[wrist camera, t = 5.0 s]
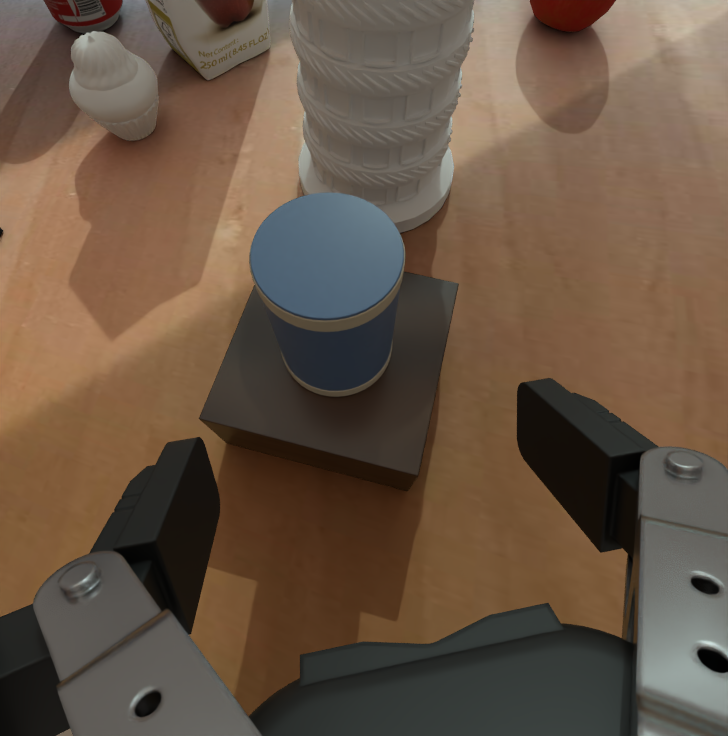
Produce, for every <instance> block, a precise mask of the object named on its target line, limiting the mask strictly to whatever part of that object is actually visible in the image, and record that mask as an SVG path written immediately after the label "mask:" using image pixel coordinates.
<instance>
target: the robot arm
mask: <svg viewBox="0 0 728 736" xmlns="http://www.w3.org/2000/svg"><path fill="white" fill-rule="evenodd" d="M517 442H518V447H519V450H520V453H521V455H522V457H523V459H524V460H525V462H526V463H527V464H528V465H529V466H530V468H531V469H532V470H533V471H534V472H535V474H536V475H537V476H538V477H539V479H540V480H541V481H542V482H543V483H544V485H545V486H546V487H547V488H548V489H549V491H550V492H551V493H552V494H553V496H554V497H555V498H556V499H557V500H558V502H559V503H560V504H561V505H562V506H563V508H564V509H565V510H566V511H567V513H568V514H569V515H570V516H571V517H572V519H573V520H574V521H575V522H576V523H577V525H578V526H579V527H580V528H581V530H582V531H583V532H584V533H585V534H586V536H587V537H588V538H589V539H590V540H591V542H592V543H593V544H594V545H595V547H596V548H597V549H598V550H599V551H600V553H601V552H606V551H611V550H616V549H621V548H623V549H624V550H625V551H626V552H627V553H628V556H627V564H626V577H625V593H624V610H623V626H622V638H620V637H617V636H615V635H612V634H609V633H606V632H603V631H600V630H596V629H593V628H589V627H585V626H578V625H572V624H561V623H560V622H559V620H558V618H557V617H556V615H555V613H554V612H553V610H552V608H551V607H550V605H549V603H545V604H540V605H535V606H531V607H526V608H521V609H516V610H512V611H507V612H502V613H497V614H493V615H489V616H487V617H485V618H483V619H481V620H479V621H477V622H475V623H473V624H471V625H469V626H467V627H465V628H463V629H461V630H459V631H457V632H455V633H453V634H451V635H449V636H447V637H445V638H443V639H441V640H439V641H437V642H434V643H430V644H410V643H384V642H359V643H354V644H350V645H345V646H340V647H335V648H331V649H326V650H321V651H316V652H312V653H307V654H302V655H300V679H298V680H296V681H294V682H292V683H290V684H288V685H287V686H285V687H284V688H282V689H280V690H279V691H277V692H276V693H274V694H273V695H272V696H271V697H269V698H268V699H267V700H266V701H264V702H263V703H262V704H261V705H260V706H259V707H258V708H257V709H256V710H255V711H254V712H253V713H252V714H251V715H250V716H249V717H248V716H247V714H246V713H245V711H244V710H243V709H242V707H241V706H240V705H239V703H238V702H237V701H236V699H235V698H234V696H233V695H232V694H231V692H230V691H229V690H228V688H227V687H226V686H225V684H224V683H223V681H222V680H221V679H220V677H219V676H218V675H217V673H216V672H215V671H214V669H213V668H212V666H211V665H210V664H209V662H208V661H207V660H206V658H205V657H204V656H203V654H202V653H201V651H200V650H199V649H198V647H197V646H196V645H195V643H194V642H193V641H192V639H191V638H190V636H189V634H191V632H192V628H193V623H194V619H195V615H196V611H197V607H198V603H199V598H200V594H201V590H202V586H203V582H204V578H205V573H206V569H207V565H208V561H209V557H210V553H211V548H212V544H213V540H214V536H215V532H216V528H217V523H218V519H219V515H220V498H219V492H218V488H217V484H216V481H215V478H214V474H213V471H212V467H211V464H210V461H209V457H208V454H207V451H206V447H205V444H204V442H203V440H202V439H201V438H200V437H196V438H191V439H185V440H179V441H173V442H168V443H167V444H166V445H165V447H164V449H163V451H162V453H161V455H160V457H159V459H158V461H157V463H156V465H152V466H147V467H146V468H145V469H143V470H142V471H141V472H140V473H139V474H138V475H137V476H136V477H134V478H133V479H132V480H131V481H130V483H129V484H128V486H127V488H126V490H125V491H124V493H123V495H122V499H120V500H119V502H118V504H117V506H116V507H115V509H114V510H115V512H113V513H112V514H111V516H110V518H109V520H108V521H107V523H106V525H105V527H104V528H103V530H102V532H101V534H100V535H99V537H98V539H97V541H96V542H95V544H94V546H93V548H92V549H91V551H90V553H89V554H87V555H84V556H82V557H79V558H77V559H75V560H73V561H71V562H69V563H68V564H66V565H64V566H63V567H61V568H60V569H59V570H57V571H56V572H55V573H54V574H52V575H51V576H50V577H49V578H48V579H47V580H46V581H45V582H44V583H43V584H42V586H41V587H40V588H39V590H38V592H37V593H36V595H35V598H34V602H33V604H31V605H29V606H26V607H24V608H21V609H19V610H17V611H14V612H12V613H9V614H7V615H4V616H2V617H0V736H56V735H58V734H60V733H62V732H64V731H66V730H68V729H71V731H72V734H73V736H728V470H727V469H726V467H725V466H724V465H723V464H722V463H720V462H719V461H717V460H716V459H714V458H712V457H710V456H708V455H706V454H704V453H701V452H698V451H695V450H691V449H686V448H681V447H658V446H657V445H655V444H654V443H653V442H651V441H650V440H649V439H647V438H646V437H644V436H643V435H642V434H640V433H639V432H638V431H636V430H635V429H633V428H632V427H631V426H629V425H628V424H626V423H625V422H621V419H620V418H618V417H617V416H615V415H614V414H613V413H609V410H607V409H606V408H604V407H603V406H602V405H600V404H599V403H598V402H596V401H595V400H592V399H590V398H587V397H584V396H582V395H579V394H576V393H570V392H569V391H568V390H566V389H565V388H564V387H562V386H561V385H560V384H558V383H557V382H556V381H555V380H553V379H551V378H547V379H541V380H535V381H529V382H523V383H520V385H519V386H518V391H517Z"/></svg>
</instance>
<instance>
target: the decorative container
mask: <svg viewBox="0 0 728 736" xmlns="http://www.w3.org/2000/svg"><path fill="white" fill-rule="evenodd" d="M473 4H474V0H292V5H291V8H290V10H291V13H290V21H289V29H290V37H291V40H292V43H293V46H294V49H295V51H296V54H297V56H298V58H299V61H300V62H299V65H298V74H297V88H298V95H299V98H300V100H301V103H302V105H303V107H304V110H305V112H304V120H303V133H304V140H305V143H304V144H303V147H302V150H301V153H300V156H299V177H300V183H301V188H302V191H303V193H304V196H306V195H309V194H315V193H327V192H331V193H343V194H348V195H352V196H356V197H359V198H361V199H364V200H366V201H368V202H370V203H372V204H374V205H375V206H377V207H378V208H380V209H381V210H382V211H383V212H384V213H386V214H387V215H388V217H389V218H390V219H391V220H392V221H393V223H394V224H395V226H396V227H397V229H398V230H399V233H401V232H405V231H408V230H412V229H414V228H416V227H418V226H419V225H421V224H423V223H425V222H426V221H428V220H430V219H431V218H432V217H433V216H434V215H435V214H436V213H437V212H438V211H439V210H440V209H441V208H442V206H443V204H444V202H445V200H446V198H447V196H448V194H449V191H450V187H451V183H452V177H453V170H454V163H453V158H452V154H451V150H450V148H449V147H448V143H449V142H450V141H451V138H450V134H452V130H451V127H452V117H451V116H452V114H453V112H454V110H455V109H456V105H457V104H458V101H457V100H458V97H460V96H461V94H460V93H459V90H460V89H461V88H462V85H461V80H462V71H461V65H462V63H463V61H464V59H465V58H466V56H467V52H468V51H469V43H470V42H472V41H473V38H472V37H471V33H473V32H474V28H472V27H473V23H474V12H473Z"/></svg>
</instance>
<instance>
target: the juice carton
mask: <svg viewBox="0 0 728 736" xmlns="http://www.w3.org/2000/svg"><path fill="white" fill-rule="evenodd" d="M146 3H147V5H148V8H149V11H150V13H151V16H152V18H153V20H154V22H155V24H156V26H157V28H158V29H159V31H160V32H161V34H162V35H163V37H164V39H165V40H166V42H167V43H168V44H169V45H170V47H171V48H172V49H173V50H174V51H175V52H176V53H178V54H179V55H180V56H181V57H182V58H183V59H184V60H185V61H186V62H187V63H189V64H190V65H191V66H192V67H193V68H194V69H195V70H196V71H197V72H198V73H200V74H201V75H202V76H203V77H204V78H205V79H207V80H210V79H213V78H215V77H217V76H219V75H221V74H223V73H224V72H226V71H228V70H229V69H231V68H233V67H234V66H236V65H238V64H240V63H242V62H244V61H246V60H248V59H250V58H253V57H255V56H257V55H259V54H261V53H262V52H264V51H266V50H268V49H269V48H270V29H269V16H268V6H267V0H146Z"/></svg>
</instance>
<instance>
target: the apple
mask: <svg viewBox="0 0 728 736" xmlns="http://www.w3.org/2000/svg"><path fill="white" fill-rule="evenodd" d="M615 1H616V0H530V3H531V7H532V10H533V13H534V15H535V16H536V17H537V18H538V19H539V20H540V21H541V22H542V23H544V24H546V25H548V26H550V27H552V28H555V29H558V30H561V31H568V32H575V31H580V30H582V29H584V28H586V27H588V26H590V25H592V24H593V23H594V22H595V21H597V20H598V19H599V18H600V17H602V16H603V15H604V14H605V13H606V12H608V10H609V9H610V8H611V6H612V5H613V4H614V2H615Z"/></svg>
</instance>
